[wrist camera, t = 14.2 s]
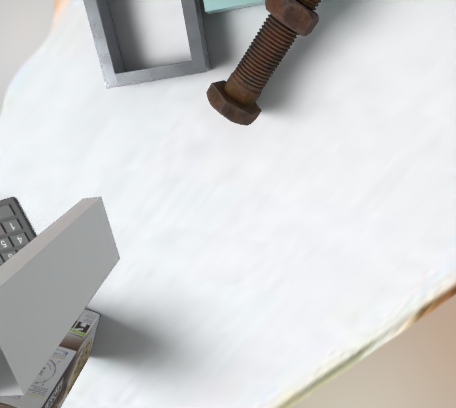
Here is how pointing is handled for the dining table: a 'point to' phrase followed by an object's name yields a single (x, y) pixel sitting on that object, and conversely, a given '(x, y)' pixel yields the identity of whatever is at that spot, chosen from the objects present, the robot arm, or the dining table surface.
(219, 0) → the tray
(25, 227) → the calculator
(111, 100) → the dining table surface
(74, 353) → the coffee box
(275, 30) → the bolt
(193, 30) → the square frame
